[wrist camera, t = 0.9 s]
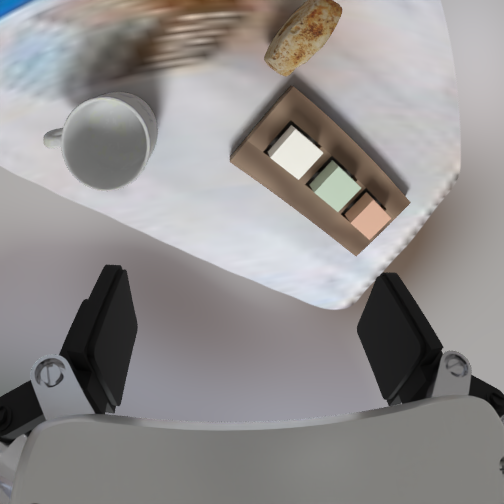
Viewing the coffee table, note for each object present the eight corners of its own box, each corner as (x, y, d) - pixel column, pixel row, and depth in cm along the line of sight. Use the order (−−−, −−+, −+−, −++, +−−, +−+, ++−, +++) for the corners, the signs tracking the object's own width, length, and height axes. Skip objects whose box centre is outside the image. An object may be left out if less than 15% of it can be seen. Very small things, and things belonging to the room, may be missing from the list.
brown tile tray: (290, 85, 33) (293, 86, 31) (405, 197, 42) (410, 202, 41) (229, 157, 38) (229, 161, 36) (352, 250, 47) (356, 256, 46)
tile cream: (291, 124, 34) (295, 129, 32) (317, 147, 36) (323, 153, 34) (267, 152, 36) (270, 157, 34) (294, 172, 37) (298, 180, 35)
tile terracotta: (366, 192, 39) (373, 199, 37) (384, 210, 41) (391, 218, 39) (344, 214, 41) (350, 223, 39) (363, 230, 43) (369, 240, 41)
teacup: (176, 101, 33) (162, 110, 26) (151, 178, 38) (135, 205, 32) (78, 77, 29) (46, 83, 23) (62, 152, 35) (32, 173, 28)
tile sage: (332, 160, 37) (338, 166, 35) (354, 180, 38) (361, 188, 36) (309, 184, 38) (314, 192, 36) (332, 203, 40) (337, 212, 38)
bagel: (301, -1, 26) (325, -21, 18) (327, 15, 28) (358, 3, 19) (254, 61, 31) (263, 59, 23) (280, 77, 32) (298, 81, 24)
